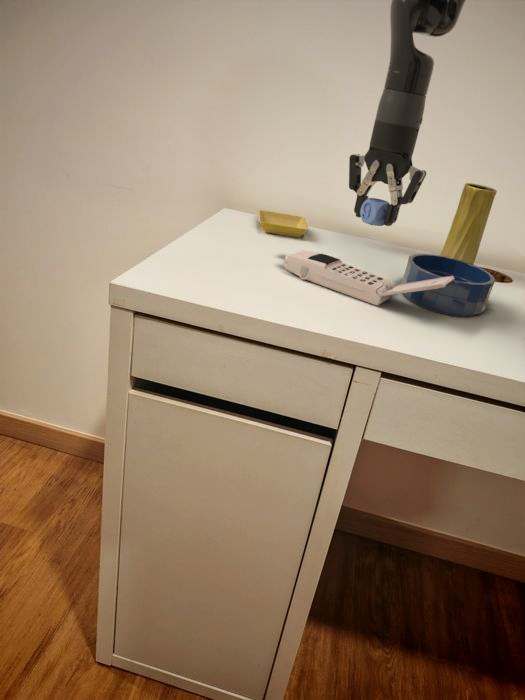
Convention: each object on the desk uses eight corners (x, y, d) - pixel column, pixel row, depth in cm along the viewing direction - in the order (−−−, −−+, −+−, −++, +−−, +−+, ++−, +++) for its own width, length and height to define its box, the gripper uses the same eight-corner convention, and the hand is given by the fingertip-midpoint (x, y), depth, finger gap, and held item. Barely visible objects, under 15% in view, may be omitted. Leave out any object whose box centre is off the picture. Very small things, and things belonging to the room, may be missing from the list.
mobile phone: (445, 285, 73) (276, 228, 83) (430, 328, 75) (268, 267, 86) (457, 276, 77) (296, 223, 88) (443, 317, 80) (288, 261, 90)
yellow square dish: (306, 241, 103) (308, 229, 102) (257, 233, 102) (259, 221, 101) (302, 227, 110) (304, 217, 109) (256, 220, 110) (258, 209, 109)
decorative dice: (388, 226, 105) (394, 203, 103) (373, 226, 103) (378, 203, 101) (373, 219, 108) (378, 197, 106) (357, 219, 106) (362, 197, 104)
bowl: (492, 305, 88) (503, 274, 86) (469, 325, 78) (481, 291, 76) (416, 279, 93) (425, 249, 91) (386, 295, 84) (395, 262, 82)
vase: (431, 261, 105) (456, 180, 98) (463, 265, 106) (489, 185, 99) (444, 272, 99) (471, 188, 93) (477, 277, 100) (506, 193, 94)
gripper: (350, 112, 98) (329, 212, 105) (430, 129, 92) (402, 234, 99) (369, 114, 104) (348, 208, 111) (446, 129, 97) (418, 229, 105)
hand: (373, 220), depth 105 cm, fingers closed on decorative dice, 5 cm apart
